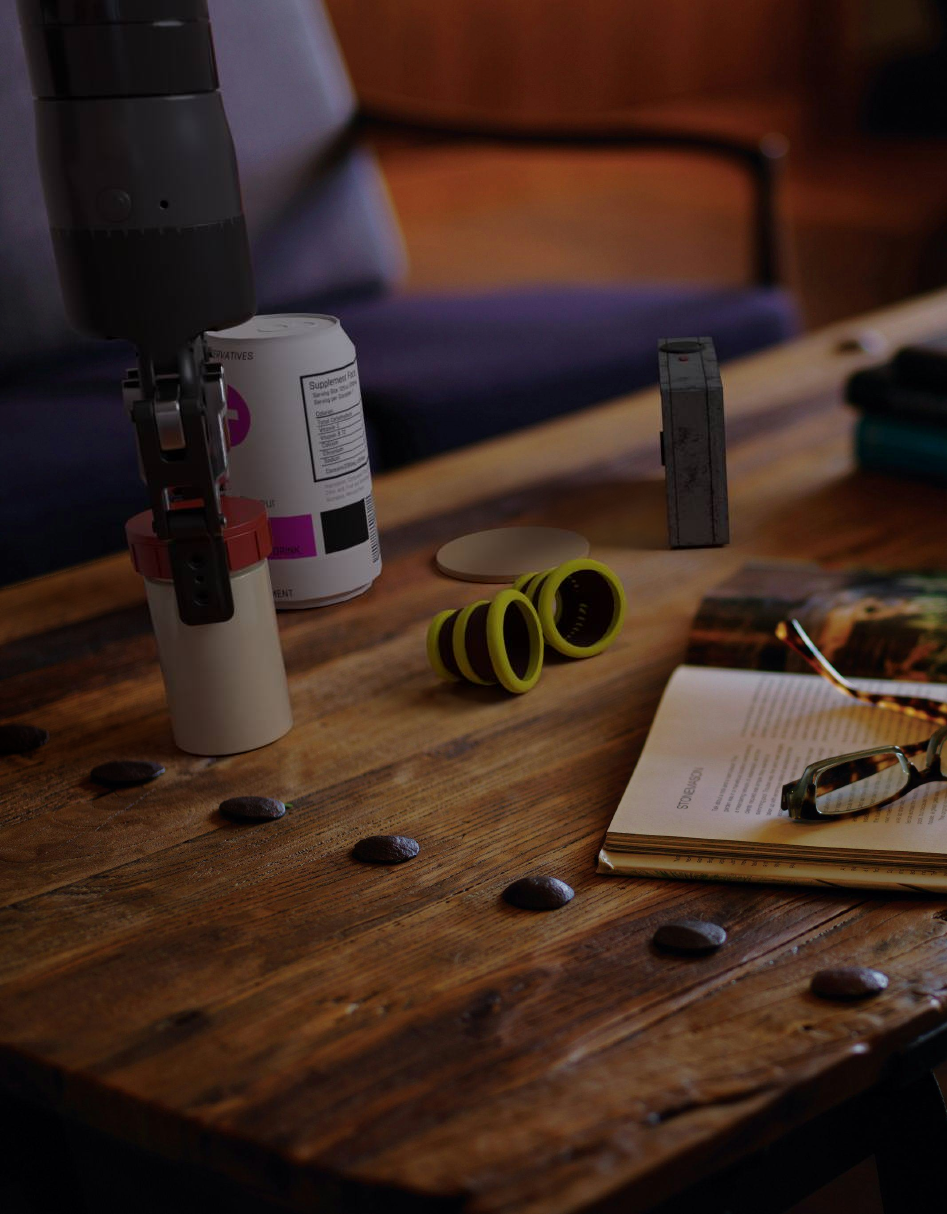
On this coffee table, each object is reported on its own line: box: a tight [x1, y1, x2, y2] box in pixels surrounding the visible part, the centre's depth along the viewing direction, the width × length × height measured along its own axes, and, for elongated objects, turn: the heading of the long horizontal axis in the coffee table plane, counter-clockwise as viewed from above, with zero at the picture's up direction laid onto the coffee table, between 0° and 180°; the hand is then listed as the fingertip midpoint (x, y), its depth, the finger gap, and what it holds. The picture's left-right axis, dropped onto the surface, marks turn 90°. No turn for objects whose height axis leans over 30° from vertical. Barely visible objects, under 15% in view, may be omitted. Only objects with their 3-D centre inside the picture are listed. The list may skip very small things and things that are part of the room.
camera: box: [657, 336, 731, 548], centre depth 104 cm, size 16×4×10 cm, turn 6°
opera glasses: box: [426, 558, 627, 694], centre depth 80 cm, size 10×5×5 cm, turn 148°
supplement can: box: [203, 312, 383, 610], centre depth 90 cm, size 8×8×15 cm
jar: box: [142, 558, 295, 756], centre depth 73 cm, size 5×5×10 cm
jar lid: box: [124, 497, 274, 579], centre depth 71 cm, size 6×6×2 cm
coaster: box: [435, 526, 591, 584], centre depth 97 cm, size 9×9×1 cm
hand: (210, 595), depth 72 cm, fingers closed on jar lid, 6 cm apart
